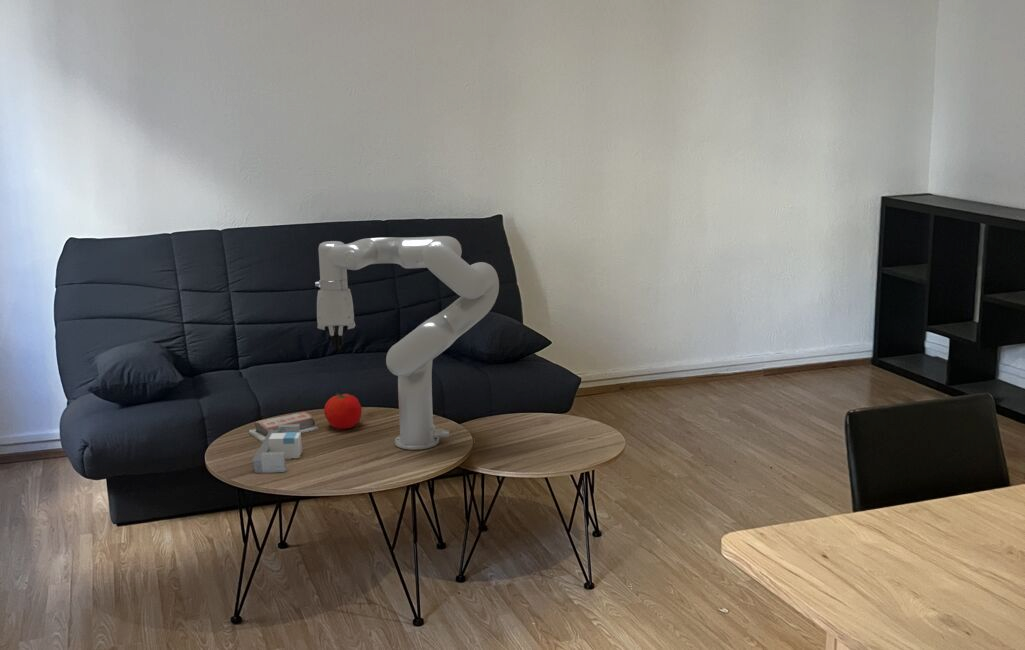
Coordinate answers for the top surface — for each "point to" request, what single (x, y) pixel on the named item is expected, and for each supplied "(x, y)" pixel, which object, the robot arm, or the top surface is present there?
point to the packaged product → (273, 423)
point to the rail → (272, 453)
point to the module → (286, 444)
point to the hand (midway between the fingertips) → (337, 348)
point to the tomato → (343, 411)
